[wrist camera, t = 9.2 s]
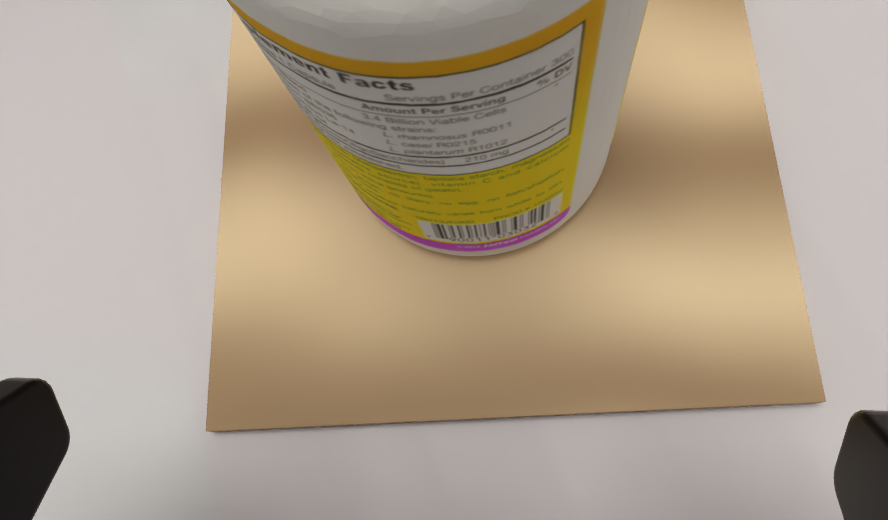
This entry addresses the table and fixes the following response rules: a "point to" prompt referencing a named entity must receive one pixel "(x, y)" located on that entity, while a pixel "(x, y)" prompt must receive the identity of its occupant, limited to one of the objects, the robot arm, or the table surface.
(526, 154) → the supplement bottle
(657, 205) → the coaster
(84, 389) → the table surface
